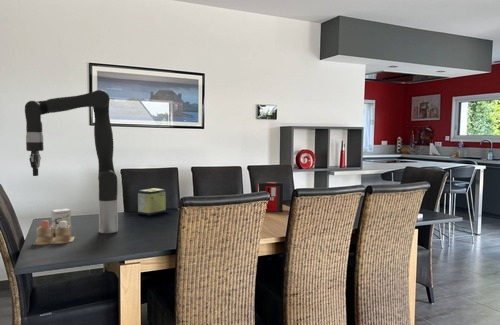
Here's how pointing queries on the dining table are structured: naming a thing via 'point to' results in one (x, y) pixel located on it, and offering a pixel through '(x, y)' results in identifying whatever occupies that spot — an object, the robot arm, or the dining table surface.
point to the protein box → (151, 201)
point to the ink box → (60, 217)
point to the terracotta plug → (45, 224)
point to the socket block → (61, 235)
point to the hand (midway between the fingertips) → (35, 175)
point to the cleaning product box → (273, 195)
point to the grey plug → (63, 224)
